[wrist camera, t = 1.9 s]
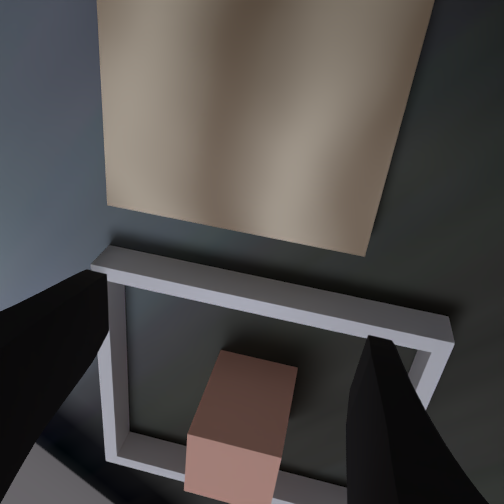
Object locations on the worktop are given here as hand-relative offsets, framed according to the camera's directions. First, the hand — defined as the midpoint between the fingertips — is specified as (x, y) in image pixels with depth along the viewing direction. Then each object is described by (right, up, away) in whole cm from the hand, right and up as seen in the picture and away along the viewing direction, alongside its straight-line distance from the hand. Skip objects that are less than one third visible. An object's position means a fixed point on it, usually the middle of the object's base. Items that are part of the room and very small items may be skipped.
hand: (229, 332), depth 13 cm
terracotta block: (+1, -6, +16) cm, 17 cm away
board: (+1, +9, +7) cm, 11 cm away
